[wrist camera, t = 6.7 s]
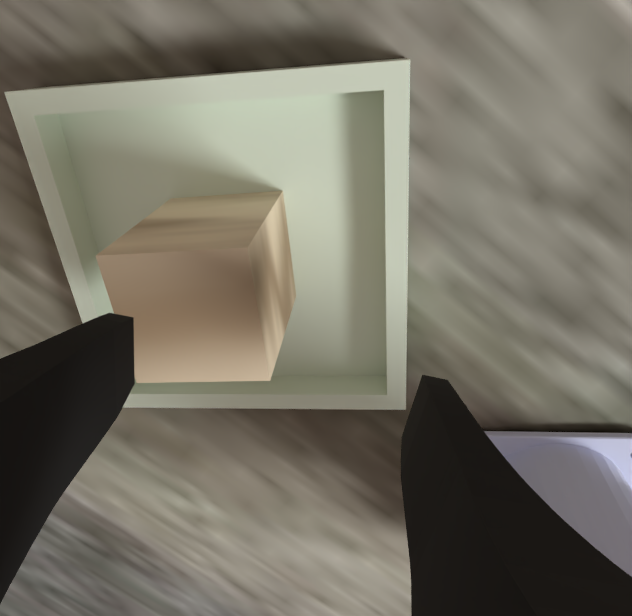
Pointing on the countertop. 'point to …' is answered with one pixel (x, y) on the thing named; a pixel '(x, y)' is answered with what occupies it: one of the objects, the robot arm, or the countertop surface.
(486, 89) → the countertop surface
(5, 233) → the countertop surface
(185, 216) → the maple block
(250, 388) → the tray
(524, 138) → the countertop surface
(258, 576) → the countertop surface
